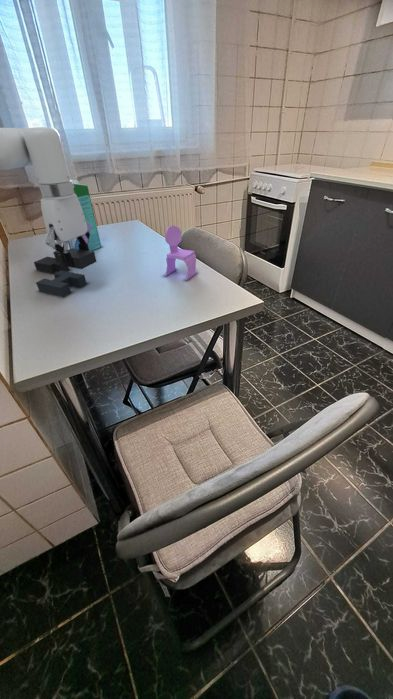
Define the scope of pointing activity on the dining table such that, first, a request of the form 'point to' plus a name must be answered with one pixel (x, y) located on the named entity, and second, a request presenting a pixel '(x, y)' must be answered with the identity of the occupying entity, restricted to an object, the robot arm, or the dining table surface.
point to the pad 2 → (78, 258)
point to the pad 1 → (49, 265)
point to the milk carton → (86, 217)
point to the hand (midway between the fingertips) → (77, 261)
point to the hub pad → (61, 283)
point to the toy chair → (178, 252)
